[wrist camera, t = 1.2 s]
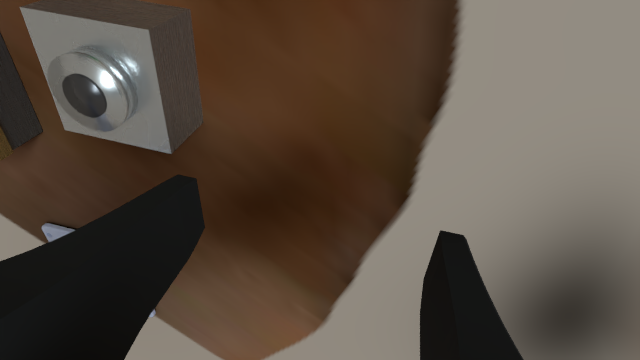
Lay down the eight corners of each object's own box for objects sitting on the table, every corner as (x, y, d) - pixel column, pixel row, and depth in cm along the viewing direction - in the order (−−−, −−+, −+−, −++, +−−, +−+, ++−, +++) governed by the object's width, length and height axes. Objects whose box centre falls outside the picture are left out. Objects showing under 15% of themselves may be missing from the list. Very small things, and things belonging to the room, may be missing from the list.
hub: (204, 120, 22) (158, 167, 19) (109, 100, 23) (47, 141, 19) (192, 7, 18) (130, 38, 15) (79, -11, 19) (-5, 14, 16)
